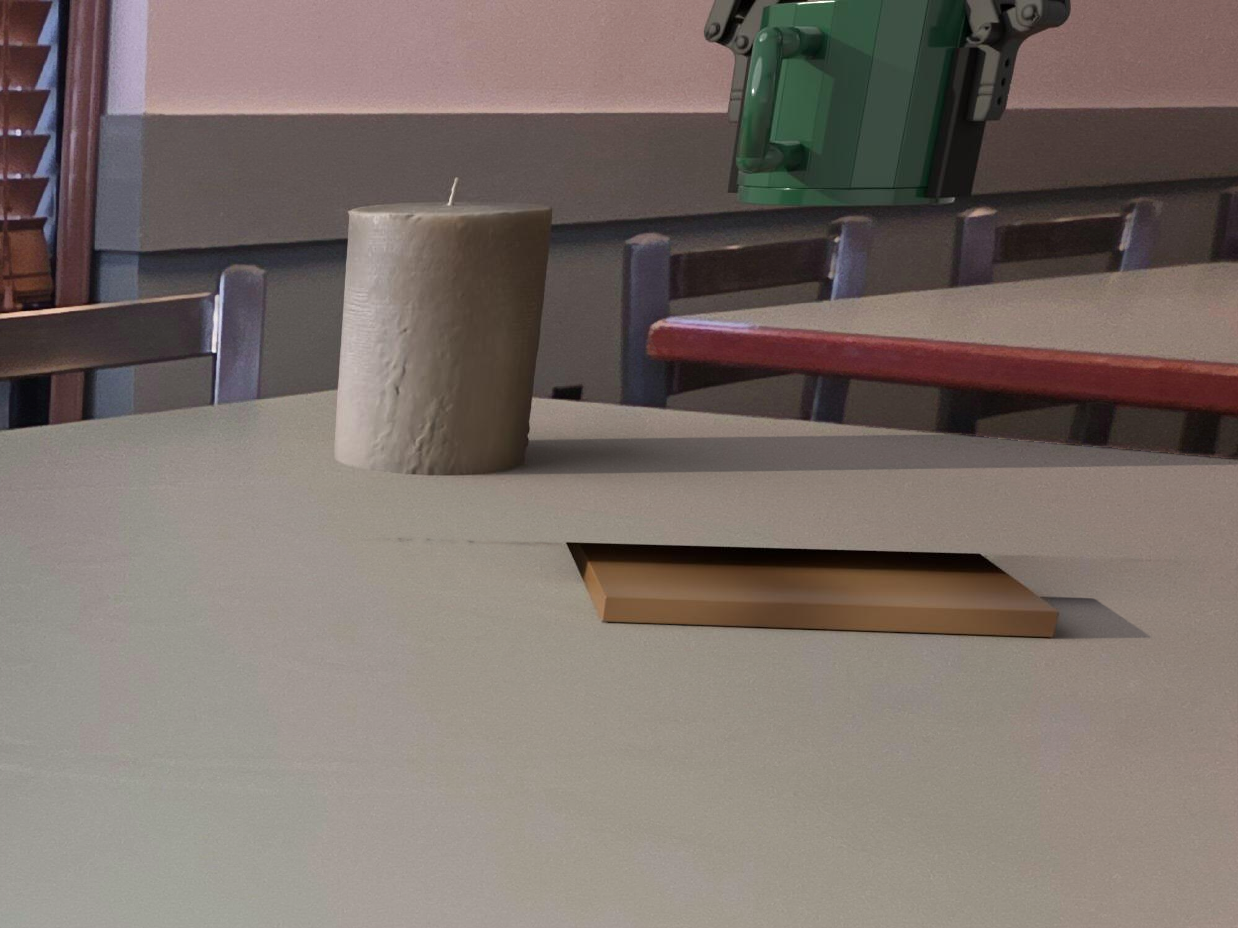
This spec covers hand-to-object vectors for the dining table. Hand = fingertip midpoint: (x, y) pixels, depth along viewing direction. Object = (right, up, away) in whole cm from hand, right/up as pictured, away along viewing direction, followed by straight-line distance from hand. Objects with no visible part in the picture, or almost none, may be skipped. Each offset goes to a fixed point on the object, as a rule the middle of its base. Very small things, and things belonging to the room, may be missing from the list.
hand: (843, 194), depth 89 cm
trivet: (-11, -23, -16) cm, 30 cm away
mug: (-2, -1, -1) cm, 2 cm away
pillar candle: (-21, -15, +1) cm, 26 cm away
